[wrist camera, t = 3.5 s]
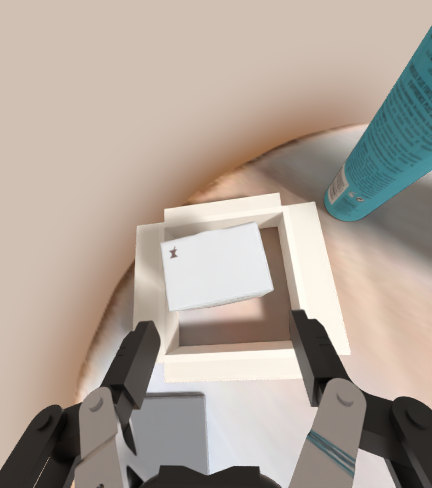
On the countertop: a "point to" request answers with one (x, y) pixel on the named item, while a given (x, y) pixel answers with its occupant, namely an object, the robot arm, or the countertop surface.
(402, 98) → the tube
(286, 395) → the countertop surface
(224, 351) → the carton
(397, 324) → the countertop surface
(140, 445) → the coaster
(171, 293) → the skincare box
